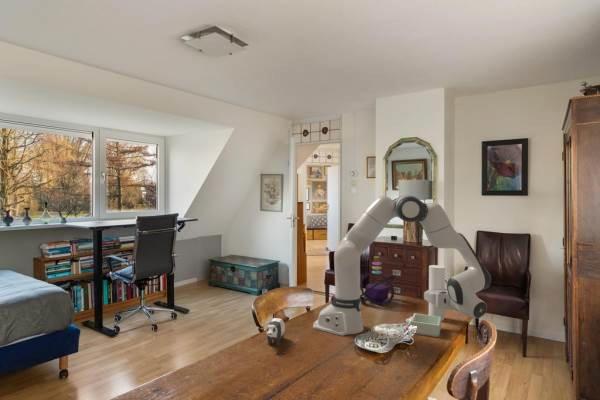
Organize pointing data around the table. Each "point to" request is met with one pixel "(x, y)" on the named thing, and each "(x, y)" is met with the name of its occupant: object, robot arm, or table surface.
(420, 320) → the box
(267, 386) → the table surface
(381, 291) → the decorative bottle
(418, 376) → the table surface
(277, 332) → the giant panda
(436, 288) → the cylindrical container
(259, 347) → the table surface
